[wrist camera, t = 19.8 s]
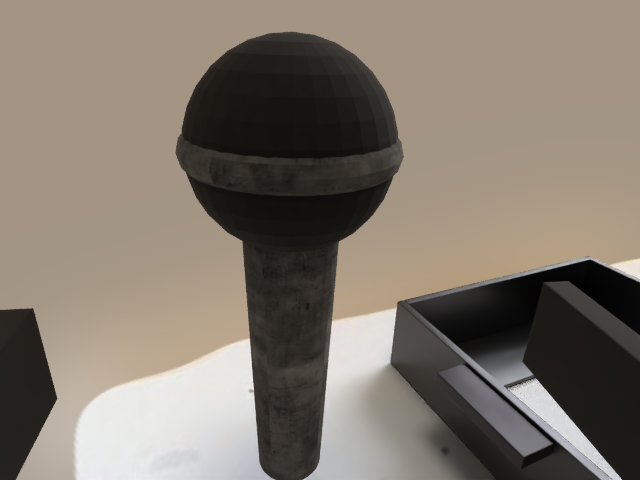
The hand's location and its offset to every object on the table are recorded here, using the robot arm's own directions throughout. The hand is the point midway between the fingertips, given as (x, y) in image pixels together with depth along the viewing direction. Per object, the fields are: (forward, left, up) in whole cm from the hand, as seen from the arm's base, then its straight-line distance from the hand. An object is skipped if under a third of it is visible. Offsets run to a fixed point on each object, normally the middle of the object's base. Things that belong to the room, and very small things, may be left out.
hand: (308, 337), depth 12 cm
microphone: (-1, -4, -13) cm, 13 cm away
